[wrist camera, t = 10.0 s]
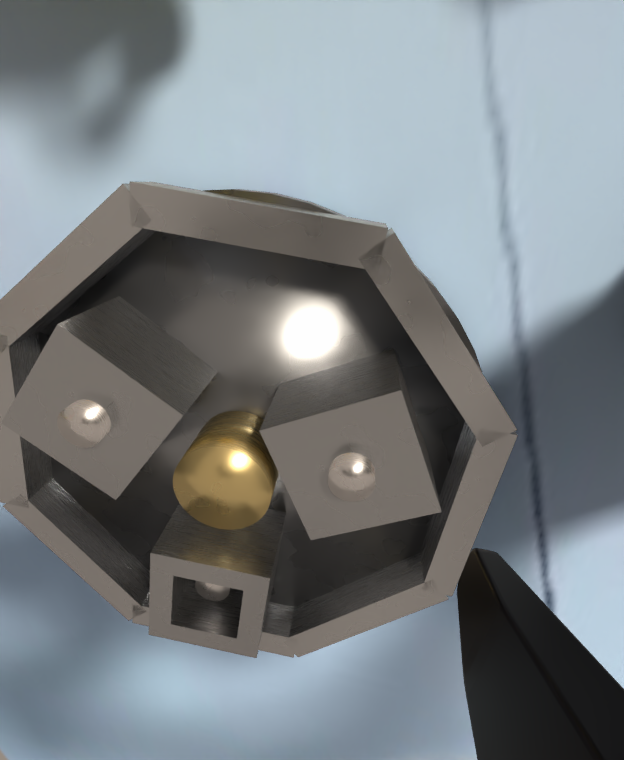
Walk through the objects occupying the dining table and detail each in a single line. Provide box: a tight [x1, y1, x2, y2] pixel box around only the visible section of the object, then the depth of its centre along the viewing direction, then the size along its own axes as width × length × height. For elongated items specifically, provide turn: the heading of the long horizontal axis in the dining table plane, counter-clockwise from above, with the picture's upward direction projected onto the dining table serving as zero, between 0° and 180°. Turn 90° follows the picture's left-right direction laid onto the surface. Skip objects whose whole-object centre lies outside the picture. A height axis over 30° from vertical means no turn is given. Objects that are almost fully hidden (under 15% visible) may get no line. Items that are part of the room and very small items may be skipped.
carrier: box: [0, 182, 518, 657], centre depth 19 cm, size 22×22×6 cm
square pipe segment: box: [149, 503, 286, 658], centre depth 21 cm, size 5×5×4 cm
